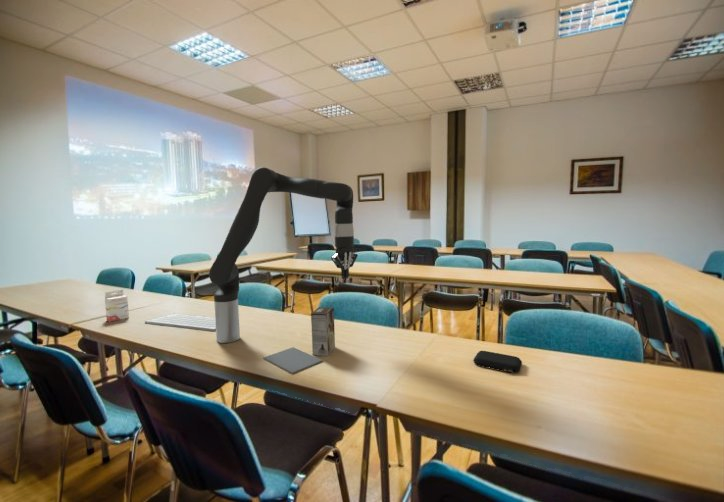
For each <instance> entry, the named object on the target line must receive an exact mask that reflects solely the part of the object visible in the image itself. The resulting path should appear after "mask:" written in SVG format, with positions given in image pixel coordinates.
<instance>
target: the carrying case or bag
mask: <svg viewBox="0 0 724 502" xmlns="http://www.w3.org/2000/svg"><path fill="white" fill-rule="evenodd" d="M473 363H474V364H475V365H476V364H477V365H480V366H479V367H481V366H484V367H483V368H486V367H490V368H489V369H491V368H494V369H493V370H495V369H499V370H498V371H500V370H503V371H502V372H504V373H510V372H517V373H518V372H520V371H521V368H522V364H523V362H522V360H521V359H520V358H519V357H518V356H515V355H508V354H503V353H499V352H492V351H487V350H480V351H478V352H477V353H476V355H475V356H474V358H473ZM477 365H476V366H477Z"/></svg>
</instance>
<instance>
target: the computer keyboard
mask: <svg viewBox="0 0 724 502" xmlns="http://www.w3.org/2000/svg"><path fill="white" fill-rule="evenodd" d="M189 315H190V314H184V315H180V313H171V314H167V315H164V316H159V317H156V318H152V319H148V320H144V324H148V325H156V326H166V327H173V328H181V329H189V330H190V329H191V330H197V331H198V330H200V331H208V332H216V321H215V317H214V318H210V317H211V316H204V317H203V315H194V316H189Z"/></svg>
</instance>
